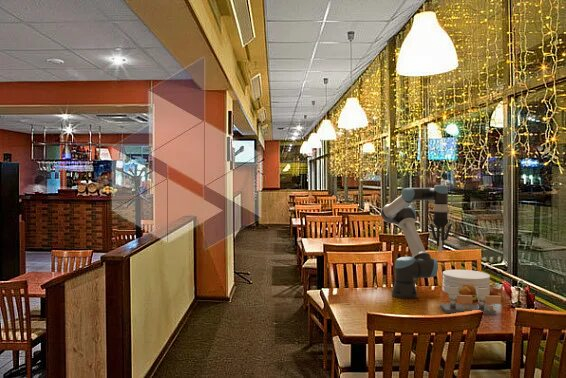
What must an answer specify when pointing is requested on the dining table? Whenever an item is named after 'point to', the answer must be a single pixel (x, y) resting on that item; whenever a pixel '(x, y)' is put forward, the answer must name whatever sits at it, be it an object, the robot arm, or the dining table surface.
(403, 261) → the robot arm
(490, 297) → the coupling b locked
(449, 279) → the plate stack
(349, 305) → the dining table surface
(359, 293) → the dining table surface
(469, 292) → the cheeseburger
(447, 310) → the lock plate
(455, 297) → the coupling
